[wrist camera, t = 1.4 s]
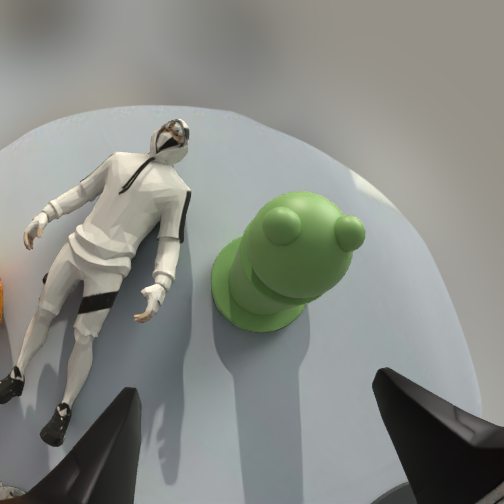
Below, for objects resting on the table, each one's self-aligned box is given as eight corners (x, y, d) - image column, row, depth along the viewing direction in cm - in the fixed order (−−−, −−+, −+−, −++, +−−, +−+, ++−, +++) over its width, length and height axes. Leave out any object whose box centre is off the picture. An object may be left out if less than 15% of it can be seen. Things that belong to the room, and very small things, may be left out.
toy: (305, 333, 25) (411, 327, 11) (207, 329, 24) (207, 327, 10) (305, 241, 27) (392, 156, 13) (214, 233, 26) (225, 126, 12)
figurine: (-36, 374, 13) (125, 77, 21) (-3, 364, 19) (132, 116, 27) (84, 469, 15) (255, 137, 22) (101, 438, 21) (240, 170, 29)
